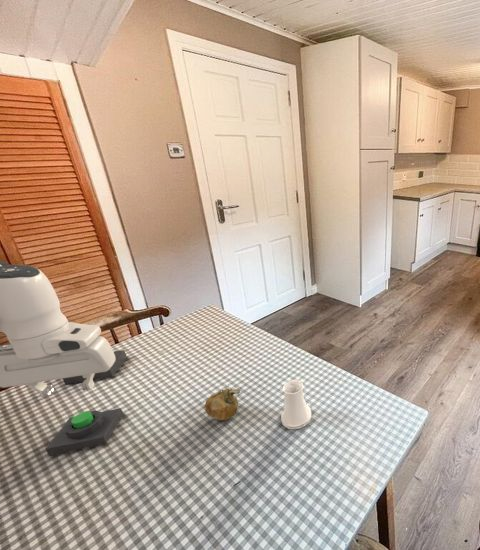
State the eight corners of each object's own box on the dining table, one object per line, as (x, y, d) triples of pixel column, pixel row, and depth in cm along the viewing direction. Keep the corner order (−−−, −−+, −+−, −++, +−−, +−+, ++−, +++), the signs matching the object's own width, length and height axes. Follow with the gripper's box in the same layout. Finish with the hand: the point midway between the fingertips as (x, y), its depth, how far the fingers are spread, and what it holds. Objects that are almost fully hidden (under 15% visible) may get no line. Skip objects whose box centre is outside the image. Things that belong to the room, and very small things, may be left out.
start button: (70, 430, 70) (67, 424, 69) (79, 418, 73) (76, 412, 73) (88, 426, 71) (86, 421, 70) (96, 415, 74) (94, 409, 74)
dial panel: (65, 384, 89) (61, 376, 88) (84, 363, 98) (80, 355, 97) (112, 377, 92) (109, 368, 91) (127, 357, 101) (124, 349, 100)
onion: (223, 400, 83) (217, 377, 80) (247, 408, 81) (242, 384, 78) (201, 421, 77) (194, 397, 74) (226, 430, 74) (220, 405, 71)
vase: (317, 412, 79) (314, 382, 76) (298, 434, 73) (294, 402, 69) (295, 402, 83) (291, 372, 79) (275, 422, 76) (270, 391, 73)
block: (49, 455, 68) (41, 443, 67) (72, 424, 76) (66, 412, 75) (106, 443, 71) (100, 431, 69) (123, 414, 79) (118, 402, 77)
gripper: (-34, 357, 58) (0, 412, 63) (93, 340, 63) (114, 392, 68) (-6, 339, 64) (22, 390, 69) (108, 325, 69) (126, 373, 74)
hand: (69, 391), depth 69 cm, fingers open, 6 cm apart
